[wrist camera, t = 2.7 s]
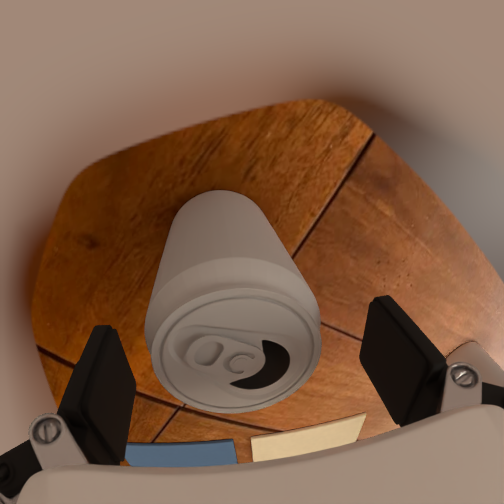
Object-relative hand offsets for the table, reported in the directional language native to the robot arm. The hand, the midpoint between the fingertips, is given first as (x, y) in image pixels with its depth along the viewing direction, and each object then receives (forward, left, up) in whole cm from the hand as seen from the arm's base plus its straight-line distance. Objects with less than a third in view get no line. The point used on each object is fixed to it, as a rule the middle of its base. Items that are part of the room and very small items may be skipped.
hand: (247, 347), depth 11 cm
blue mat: (-8, -31, -11) cm, 34 cm away
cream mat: (+8, -31, -11) cm, 34 cm away
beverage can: (0, 0, -11) cm, 11 cm away
